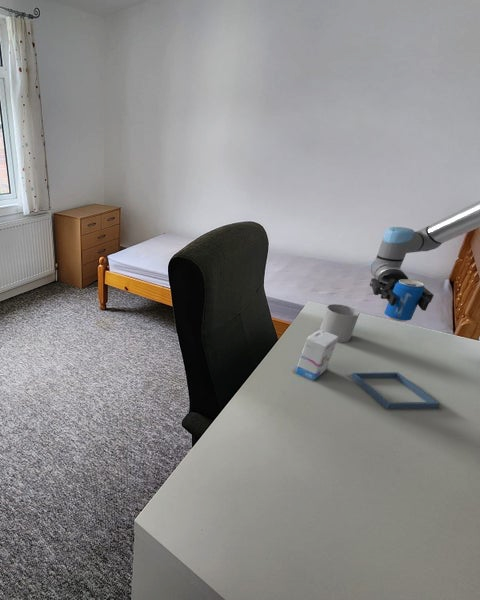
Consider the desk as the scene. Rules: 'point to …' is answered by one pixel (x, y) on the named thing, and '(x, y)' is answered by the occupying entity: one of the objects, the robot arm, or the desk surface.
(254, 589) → the desk surface
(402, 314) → the beverage can
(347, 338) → the cup
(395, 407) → the rectangular frame
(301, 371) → the ink box
